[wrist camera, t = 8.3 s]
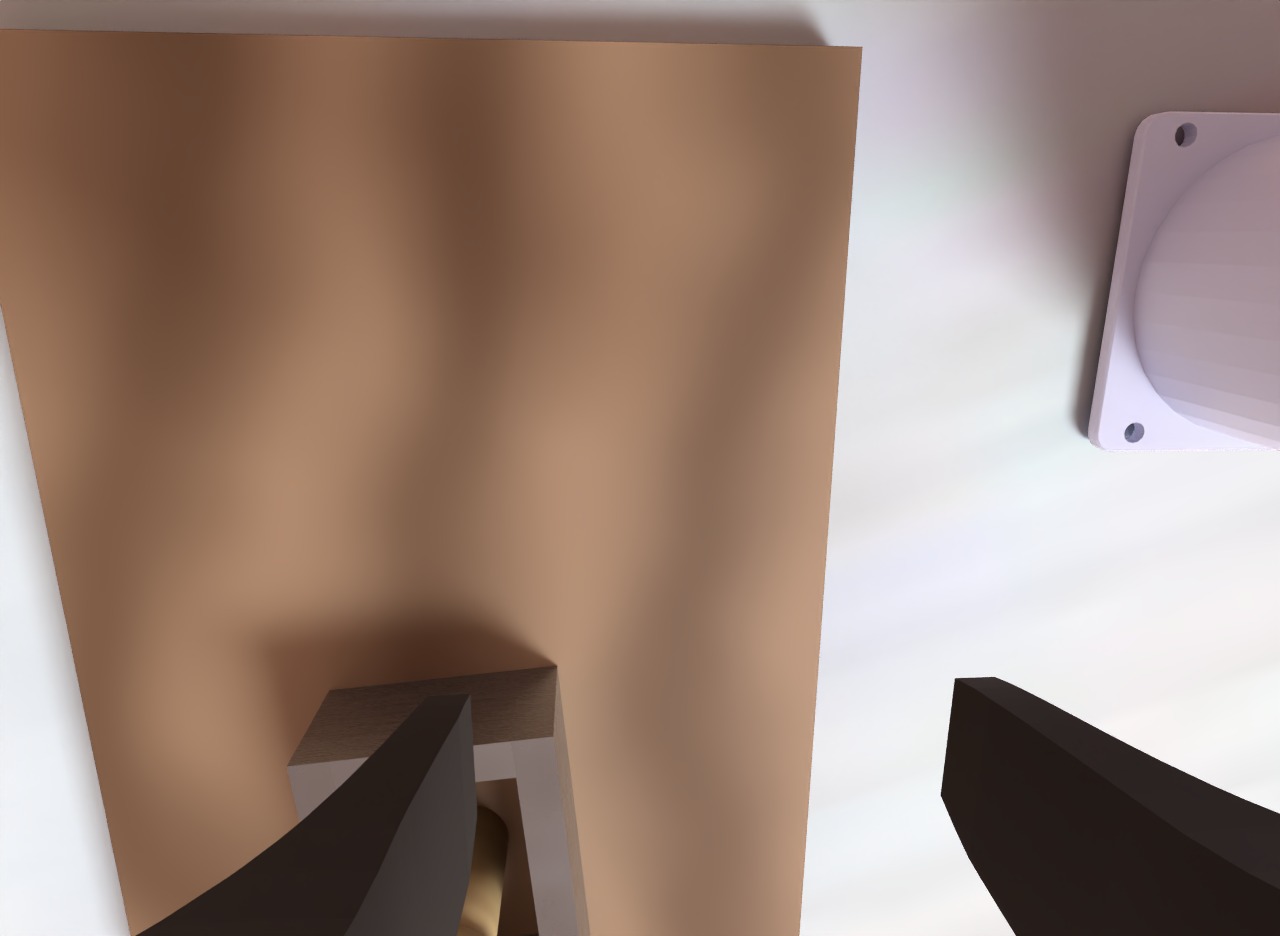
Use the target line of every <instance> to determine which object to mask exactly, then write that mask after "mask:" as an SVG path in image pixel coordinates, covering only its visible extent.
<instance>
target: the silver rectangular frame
mask: <svg viewBox="0 0 1280 936" xmlns="http://www.w3.org/2000/svg"><path fill="white" fill-rule="evenodd" d="M466 694H470V700H471V717H472V734H473V751H474V768H475V782H481V781H490V780H499V779H508V778H516V780H517V787H518V794H519V801H520V807H521V814H522V821H523V828H524V835H525V842H526V849H527V856H528V862H529V869H530V876H531V883H532V890H533V897H534V904H535V911H536V917H537V924H538V931H539V933H537V934H529V935H521V936H591V934H590V926H589V918H588V909H587V901H586V893H585V885H584V877H583V869H582V861H581V853H580V845H579V837H578V828H577V820H576V812H575V804H574V796H573V788H572V780H571V772H570V764H569V756H568V747H567V739H566V731H565V723H564V715H563V707H562V699H561V691H560V683H559V675H558V666H548V667H539V668H530V669H520V670H511V671H502V672H493V673H483V674H474V675H465V676H456V677H446V678H437V679H428V680H419V681H409V682H400V683H391V684H382V685H372V686H363V687H354V688H345V689H336V690H329V692H328V693H327V695H326V697H325V699H324V701H323V702H322V704H321V706H320V708H319V709H318V711H317V713H316V715H315V717H314V718H313V720H312V722H311V724H310V725H309V727H308V729H307V731H306V733H305V734H304V736H303V738H302V740H301V742H300V743H299V745H298V747H297V749H296V750H295V752H294V754H293V756H292V758H291V759H290V761H289V763H288V765H287V771H288V775H289V779H290V783H291V788H292V792H293V796H294V800H295V805H296V809H297V813H298V817H299V822H301V821H302V820H303V819H304V818H306V817H307V816H308V815H309V814H310V813H311V812H312V811H313V810H314V809H316V808H317V807H318V806H319V805H320V804H321V803H322V802H323V801H324V800H325V799H327V798H328V797H329V796H330V795H331V794H332V793H333V792H334V791H335V790H336V789H337V788H339V787H340V786H341V785H342V784H343V783H344V782H345V781H346V780H347V779H348V778H349V777H350V776H351V775H352V774H353V773H354V772H355V771H356V770H357V769H358V768H359V767H360V766H361V765H362V764H363V763H364V762H365V761H366V760H367V759H368V758H369V757H370V756H371V755H372V754H373V753H374V752H375V751H376V750H377V749H378V748H379V746H380V745H381V744H382V743H383V742H384V741H385V740H386V739H387V738H388V737H389V736H390V735H391V734H392V733H393V732H394V730H395V729H396V728H397V727H398V726H399V725H400V724H401V723H402V722H403V721H404V720H405V719H406V717H407V716H408V715H409V714H410V713H411V712H412V711H413V710H414V709H415V708H416V707H417V706H418V705H419V704H420V703H421V702H422V701H423V700H424V699H425V698H426V697H427V696H436V695H466Z"/></svg>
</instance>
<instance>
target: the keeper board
mask: <svg viewBox="0 0 1280 936" xmlns="http://www.w3.org/2000/svg"><path fill="white" fill-rule="evenodd" d="M861 59H862V47H848V46H799V45H751V44H702V43H653V42H604V41H556V40H507V39H458V38H410V37H361V36H312V35H264V34H215V33H166V32H117V31H69V30H20V29H0V303H1V308H2V313H3V318H4V323H5V328H6V332H7V337H8V342H9V347H10V352H11V357H12V362H13V366H14V371H15V376H16V381H17V386H18V391H19V396H20V400H21V405H22V410H23V415H24V420H25V425H26V430H27V434H28V439H29V444H30V449H31V454H32V459H33V464H34V468H35V473H36V478H37V483H38V488H39V493H40V498H41V502H42V507H43V512H44V517H45V522H46V527H47V531H48V536H49V541H50V546H51V551H52V556H53V561H54V565H55V570H56V575H57V580H58V585H59V590H60V595H61V599H62V604H63V609H64V614H65V619H66V624H67V629H68V633H69V638H70V643H71V648H72V653H73V658H74V663H75V667H76V672H77V677H78V682H79V687H80V692H81V697H82V701H83V706H84V711H85V716H86V721H87V726H88V731H89V735H90V740H91V745H92V750H93V755H94V760H95V764H96V769H97V774H98V779H99V784H100V789H101V794H102V798H103V803H104V808H105V813H106V818H107V823H108V828H109V832H110V837H111V842H112V847H113V852H114V857H115V862H116V866H117V871H118V876H119V881H120V886H121V891H122V896H123V900H124V905H125V910H126V915H127V920H128V925H129V930H130V934H131V936H136V935H137V934H139V933H141V932H143V931H144V930H146V929H148V928H149V927H151V926H153V925H155V924H156V923H158V922H160V921H161V920H163V919H164V918H166V917H167V916H169V915H171V914H172V913H174V912H175V911H177V910H178V909H180V908H181V907H183V906H184V905H186V904H187V903H189V902H191V901H192V900H194V899H195V898H197V897H198V896H200V895H201V894H203V893H204V892H206V891H207V890H209V889H211V888H212V887H214V886H215V885H217V884H218V883H220V882H221V881H223V880H224V879H226V878H227V877H229V876H230V875H232V874H233V873H235V872H236V871H237V870H239V869H240V868H242V867H243V866H244V865H246V864H247V863H248V862H250V861H251V860H252V859H254V858H255V857H256V856H258V855H259V854H260V853H262V852H263V851H264V850H266V849H267V848H268V847H270V846H271V845H272V844H274V843H275V842H276V841H278V840H279V839H280V838H281V837H283V836H284V835H285V834H286V833H288V832H289V831H290V830H291V829H293V828H294V827H295V826H296V825H297V824H298V823H300V822H299V817H298V813H297V809H296V805H295V800H294V796H293V792H292V788H291V783H290V779H289V775H288V771H287V765H288V763H289V761H290V759H291V758H292V756H293V754H294V752H295V750H296V749H297V747H298V745H299V743H300V742H301V740H302V738H303V736H304V734H305V733H306V731H307V729H308V727H309V725H310V724H311V722H312V720H313V718H314V717H315V715H316V713H317V711H318V709H319V708H320V706H321V704H322V702H323V701H324V699H325V697H326V695H327V693H328V692H329V690H336V689H345V688H354V687H363V686H372V685H382V684H391V683H400V682H409V681H419V680H428V679H437V678H446V677H456V676H465V675H474V674H483V673H493V672H502V671H511V670H520V669H530V668H539V667H548V666H558V675H559V683H560V691H561V699H562V707H563V715H564V723H565V731H566V739H567V747H568V756H569V764H570V772H571V780H572V788H573V796H574V804H575V812H576V820H577V828H578V837H579V845H580V853H581V861H582V869H583V877H584V885H585V893H586V901H587V909H588V918H589V926H590V934H591V936H799V932H800V918H801V904H802V890H803V876H804V862H805V848H806V834H807V819H808V805H809V791H810V777H811V763H812V749H813V735H814V721H815V707H816V693H817V679H818V664H819V650H820V636H821V622H822V608H823V594H824V580H825V566H826V552H827V538H828V524H829V509H830V495H831V481H832V467H833V453H834V439H835V425H836V411H837V397H838V383H839V369H840V354H841V340H842V326H843V312H844V298H845V284H846V270H847V256H848V242H849V228H850V214H851V199H852V185H853V171H854V157H855V143H856V129H857V115H858V101H859V87H860V73H861ZM475 784H476V801H477V822H476V831H475V840H474V848H473V856H472V864H471V872H470V880H469V885H468V890H467V894H466V898H465V902H464V907H463V911H462V915H461V919H460V923H459V927H458V932H457V936H521V935H529V934H537V933H539V931H538V924H537V917H536V911H535V904H534V897H533V890H532V883H531V876H530V869H529V862H528V856H527V849H526V842H525V835H524V828H523V821H522V814H521V807H520V801H519V794H518V787H517V780H516V778H508V779H499V780H490V781H481V782H475Z"/></svg>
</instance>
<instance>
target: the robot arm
mask: <svg viewBox="0 0 1280 936" xmlns="http://www.w3.org/2000/svg"><path fill="white" fill-rule="evenodd" d="M1180 126H1181V127H1182V128H1183V130H1184V131H1185V138H1184V141H1183V143H1182V144H1181V145H1180V146H1178V144H1177V143H1176V141H1175V134H1176V131H1177V129H1178V128H1179V127H1180ZM1132 423H1133V424H1134V431H1133V433H1132V435H1131V436H1130V437H1128V438H1126V439H1125V436H1124V432H1125V430H1126V428H1127V427H1128V426H1129V425H1130V424H1132ZM1088 438H1089V440H1090V442H1091V443H1092V444H1093V445H1094V446H1096V447H1097V448H1099V449H1102V450H1105V451H1110V452H1127V451H1198V450H1270V449H1275V450H1278V451H1280V113H1238V112H1173V111H1167V112H1162V113H1158V114H1153V115H1150V116H1148V117H1147V118H1145V119H1144V120H1143V121H1142V122H1141V123H1140V125H1139V126H1138V127H1137V130H1136V133H1135V136H1134V142H1133V149H1132V155H1131V161H1130V168H1129V174H1128V180H1127V187H1126V193H1125V199H1124V206H1123V212H1122V218H1121V225H1120V231H1119V237H1118V244H1117V250H1116V256H1115V263H1114V269H1113V275H1112V282H1111V288H1110V294H1109V301H1108V307H1107V313H1106V320H1105V326H1104V333H1103V339H1102V345H1101V352H1100V358H1099V364H1098V371H1097V377H1096V383H1095V390H1094V396H1093V402H1092V409H1091V415H1090V421H1089V428H1088ZM941 797H942V799H943V802H944V804H945V806H946V809H947V811H948V813H949V816H950V818H951V820H952V823H953V825H954V827H955V830H956V832H957V834H958V836H959V838H960V840H961V843H962V845H963V847H964V849H965V851H966V853H967V855H968V858H969V859H970V861H971V863H972V864H973V866H974V868H975V870H976V871H977V873H978V875H979V876H980V878H981V880H982V881H983V883H984V884H985V886H986V888H987V889H988V891H989V893H990V894H991V896H992V898H993V899H994V901H995V903H996V904H997V906H998V907H999V909H1000V911H1001V912H1002V914H1003V916H1004V917H1005V919H1006V920H1007V922H1008V924H1009V925H1010V927H1011V928H1012V930H1013V932H1014V933H1015V935H1016V936H1280V814H1279V813H1277V812H1274V811H1272V810H1269V809H1267V808H1264V807H1262V806H1259V805H1257V804H1254V803H1252V802H1250V801H1247V800H1245V799H1242V798H1240V797H1238V796H1235V795H1233V794H1231V793H1228V792H1226V791H1224V790H1222V789H1219V788H1217V787H1215V786H1213V785H1210V784H1208V783H1206V782H1204V781H1202V780H1200V779H1198V778H1196V777H1194V776H1191V775H1189V774H1187V773H1185V772H1183V771H1181V770H1179V769H1177V768H1175V767H1172V766H1170V765H1168V764H1166V763H1164V762H1162V761H1160V760H1158V759H1156V758H1154V757H1152V756H1150V755H1148V754H1146V753H1144V752H1142V751H1140V750H1138V749H1136V748H1134V747H1132V746H1130V745H1128V744H1126V743H1124V742H1122V741H1120V740H1119V739H1117V738H1115V737H1113V736H1111V735H1109V734H1107V733H1105V732H1103V731H1101V730H1099V729H1098V728H1096V727H1094V726H1092V725H1090V724H1088V723H1086V722H1084V721H1082V720H1081V719H1079V718H1077V717H1075V716H1073V715H1071V714H1069V713H1067V712H1065V711H1064V710H1062V709H1060V708H1058V707H1056V706H1054V705H1052V704H1050V703H1048V702H1047V701H1045V700H1043V699H1041V698H1039V697H1037V696H1035V695H1033V694H1031V693H1029V692H1027V691H1025V690H1023V689H1021V688H1019V687H1017V686H1015V685H1012V684H1010V683H1008V682H1006V681H1003V680H1001V679H998V678H996V677H981V678H955V683H954V691H953V699H952V707H951V715H950V724H949V732H948V740H947V748H946V756H945V764H944V773H943V781H942V789H941ZM476 822H477V801H476V784H475V768H474V751H473V734H472V717H471V700H470V694H466V695H436V696H427V697H426V698H425V699H424V700H423V701H422V702H421V703H420V704H419V705H418V706H417V707H416V708H415V709H414V710H413V711H412V712H411V713H410V714H409V715H408V716H407V717H406V719H405V720H404V721H403V722H402V723H401V724H400V725H399V726H398V727H397V728H396V729H395V730H394V732H393V733H392V734H391V735H390V736H389V737H388V738H387V739H386V740H385V741H384V742H383V743H382V744H381V745H380V746H379V748H378V749H377V750H376V751H375V752H374V753H373V754H372V755H371V756H370V757H369V758H368V759H367V760H366V761H365V762H364V763H363V764H362V765H361V766H360V767H359V768H358V769H357V770H356V771H355V772H354V773H353V774H352V775H351V776H350V777H349V778H348V779H347V780H346V781H345V782H344V783H343V784H342V785H341V786H340V787H339V788H337V789H336V790H335V791H334V792H333V793H332V794H331V795H330V796H329V797H328V798H327V799H325V800H324V801H323V802H322V803H321V804H320V805H319V806H318V807H317V808H316V809H314V810H313V811H312V812H311V813H310V814H309V815H308V816H307V817H306V818H304V819H303V820H302V821H301V822H300V823H298V824H297V825H296V826H295V827H294V828H293V829H291V830H290V831H289V832H288V833H286V834H285V835H284V836H283V837H281V838H280V839H279V840H278V841H276V842H275V843H274V844H272V845H271V846H270V847H268V848H267V849H266V850H264V851H263V852H262V853H260V854H259V855H258V856H256V857H255V858H254V859H252V860H251V861H250V862H248V863H247V864H246V865H244V866H243V867H242V868H240V869H239V870H237V871H236V872H235V873H233V874H232V875H230V876H229V877H227V878H226V879H224V880H223V881H221V882H220V883H218V884H217V885H215V886H214V887H212V888H211V889H209V890H207V891H206V892H204V893H203V894H201V895H200V896H198V897H197V898H195V899H194V900H192V901H191V902H189V903H187V904H186V905H184V906H183V907H181V908H180V909H178V910H177V911H175V912H174V913H172V914H171V915H169V916H167V917H166V918H164V919H163V920H161V921H160V922H158V923H156V924H155V925H153V926H151V927H149V928H148V929H146V930H144V931H143V932H141V933H139V934H137V935H136V936H457V932H458V927H459V923H460V919H461V915H462V911H463V907H464V902H465V898H466V894H467V890H468V885H469V880H470V872H471V864H472V856H473V848H474V840H475V831H476Z"/></svg>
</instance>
